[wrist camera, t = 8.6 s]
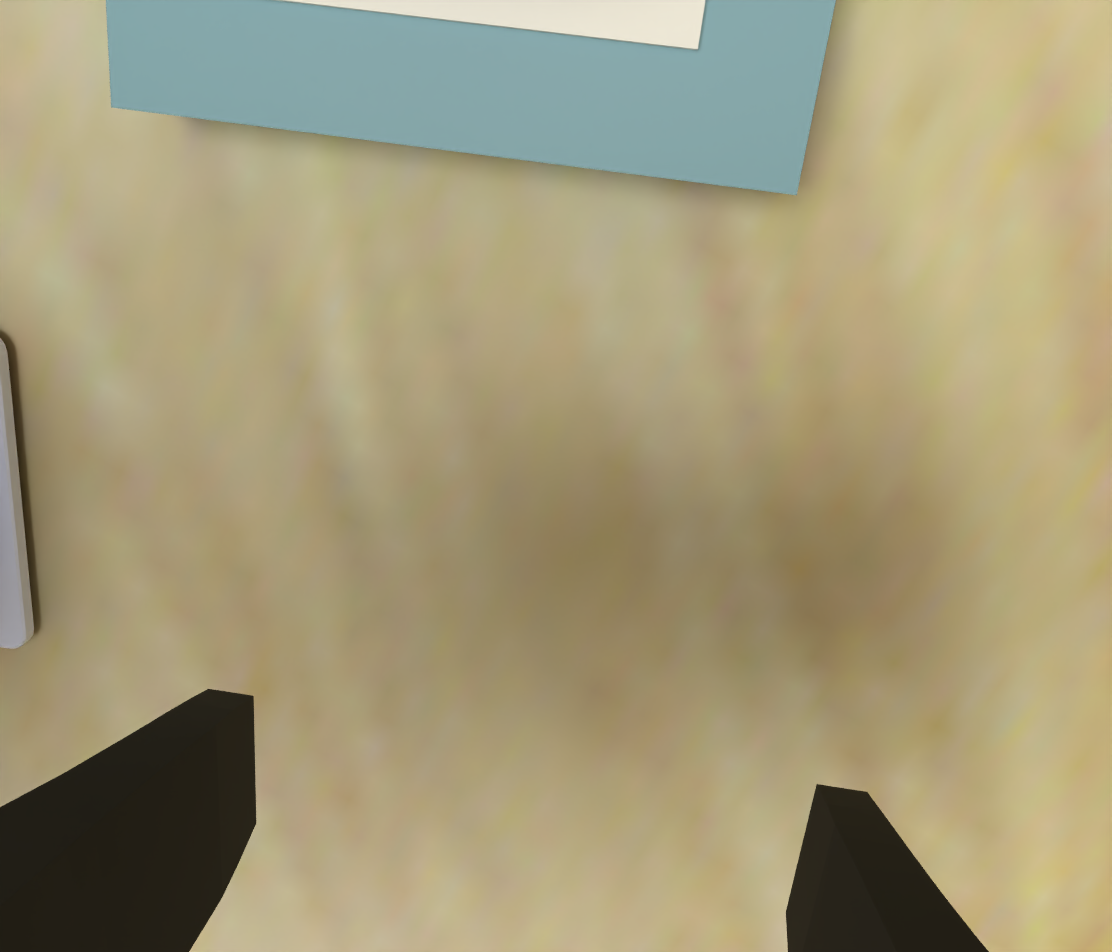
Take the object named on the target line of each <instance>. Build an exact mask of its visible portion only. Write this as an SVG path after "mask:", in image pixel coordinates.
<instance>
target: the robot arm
mask: <svg viewBox="0 0 1112 952" xmlns="http://www.w3.org/2000/svg"><path fill="white" fill-rule="evenodd" d="M33 632H34V623H33V613H32V602H31V592H30V582H29V571H28V561H27V550H26V540H25V529H24V519H23V509H22V498H21V488H20V477H19V467H18V457H17V446H16V436H15V425H14V415H13V405H12V394H11V384H10V373H9V363H8V353H7V350H6V346H5V344H4V342H3V341H2V339H1V338H0V647H2V648H8V649H16V648H18V647H20V646H22V645H23V644H25V643H26V642H27V641H29V640H30V638H31V637H32V636H33ZM255 825H256V792H255V745H254V699H253V696H250V695H244V694H238V693H231V692H225V691H219V690H212V689H207V690H206V691H204V692H202V693H200V694H198V695H196V696H194V697H193V698H191V699H189V700H187V701H186V702H184V703H182V704H180V705H179V706H177V707H175V708H174V709H172V710H170V711H169V712H167V713H165V714H163V715H162V716H160V717H158V718H157V719H155V720H153V721H152V722H150V723H148V724H147V725H145V726H143V727H142V728H140V729H138V730H137V731H135V732H133V733H132V734H130V735H128V736H127V737H125V738H123V739H122V740H120V741H118V742H117V743H115V744H113V745H111V746H110V747H108V748H106V749H105V750H103V751H101V752H100V753H98V754H96V755H94V756H93V757H91V758H89V759H88V760H86V761H84V762H82V763H81V764H79V765H77V766H76V767H74V768H72V769H70V770H69V771H67V772H65V773H63V774H62V775H60V776H58V777H56V778H54V779H52V780H50V781H48V782H47V783H45V784H43V785H41V786H39V787H37V788H35V789H34V790H32V791H30V792H28V793H26V794H24V795H22V796H20V797H19V798H17V799H15V800H13V801H11V802H9V803H7V804H5V805H4V806H2V807H0V952H189V951H190V949H191V948H192V946H193V944H194V943H195V941H196V940H197V938H198V936H199V935H200V933H201V931H202V930H203V928H204V926H205V925H206V923H207V922H208V920H209V918H210V917H211V915H212V913H213V912H214V910H215V908H216V907H217V905H218V903H219V902H220V900H221V898H222V897H223V895H224V892H225V890H226V888H227V886H228V884H229V882H230V880H231V878H232V876H233V874H234V871H235V869H236V867H237V865H238V863H239V861H240V859H241V856H242V854H243V852H244V850H245V847H246V845H247V843H248V841H249V838H250V836H251V834H252V832H253V829H254V827H255ZM786 922H787V941H788V952H988V950H987V949H986V948H985V947H984V945H983V944H982V943H981V942H980V941H979V939H978V938H977V937H976V936H975V935H974V933H973V932H972V931H971V930H970V928H969V927H968V926H967V924H966V923H965V922H964V921H963V919H962V918H961V917H960V916H959V914H958V913H957V912H956V911H955V909H954V908H953V907H952V906H951V904H950V903H949V902H948V900H947V899H946V898H945V897H944V895H943V894H942V893H941V891H940V890H939V889H938V887H937V886H936V885H935V883H934V882H933V881H932V879H931V878H930V877H929V875H928V874H927V873H926V871H925V870H924V869H923V867H922V866H921V865H920V863H919V862H918V861H917V859H916V858H915V857H914V855H913V854H912V852H911V851H910V850H909V848H908V847H907V846H906V844H905V843H904V842H903V840H902V839H901V837H900V836H899V835H898V833H897V832H896V831H895V829H894V828H893V826H892V825H891V824H890V822H889V821H888V820H887V818H886V817H885V816H884V814H883V813H882V811H881V810H880V809H879V807H878V806H877V805H876V803H875V802H874V801H873V799H872V798H871V797H870V795H869V794H868V793H867V792H863V791H857V790H850V789H844V788H838V787H831V786H825V785H818V784H817V785H816V790H815V794H814V798H813V802H812V806H811V810H810V814H809V819H808V823H807V827H806V831H805V835H804V839H803V843H802V848H801V852H800V856H799V860H798V864H797V868H796V872H795V877H794V881H793V885H792V889H791V893H790V897H789V901H788V906H787V910H786Z"/></svg>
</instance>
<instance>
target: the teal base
mask: <svg viewBox="0 0 1112 952" xmlns="http://www.w3.org/2000/svg"><path fill="white" fill-rule="evenodd" d="M835 2H836V0H106V12H107V31H108V51H109V71H110V91H111V107H113V108H120V109H128V110H136V111H144V112H152V113H159V114H167V115H175V116H183V117H191V118H198V119H206V120H214V121H222V122H230V123H237V124H245V125H253V126H261V127H269V128H276V129H284V130H292V131H300V132H308V133H315V134H323V135H331V136H339V137H347V138H355V139H362V140H370V141H378V142H386V143H394V144H401V145H409V146H417V147H425V148H433V149H440V150H448V151H456V152H464V153H472V154H479V155H487V156H495V157H503V158H511V159H518V160H526V161H534V162H542V163H550V164H557V165H565V166H573V167H581V168H589V169H596V170H604V171H612V172H620V173H628V174H635V175H643V176H651V177H659V178H667V179H674V180H682V181H690V182H698V183H706V184H713V185H721V186H729V187H737V188H745V189H752V190H760V191H768V192H776V193H784V194H791V195H797V191H798V186H799V181H800V176H801V171H802V166H803V161H804V156H805V151H806V146H807V141H808V136H809V131H810V126H811V121H812V116H813V111H814V106H815V101H816V96H817V91H818V86H819V81H820V76H821V71H822V66H823V61H824V56H825V51H826V46H827V41H828V36H829V31H830V26H831V21H832V16H833V11H834V6H835Z"/></svg>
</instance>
